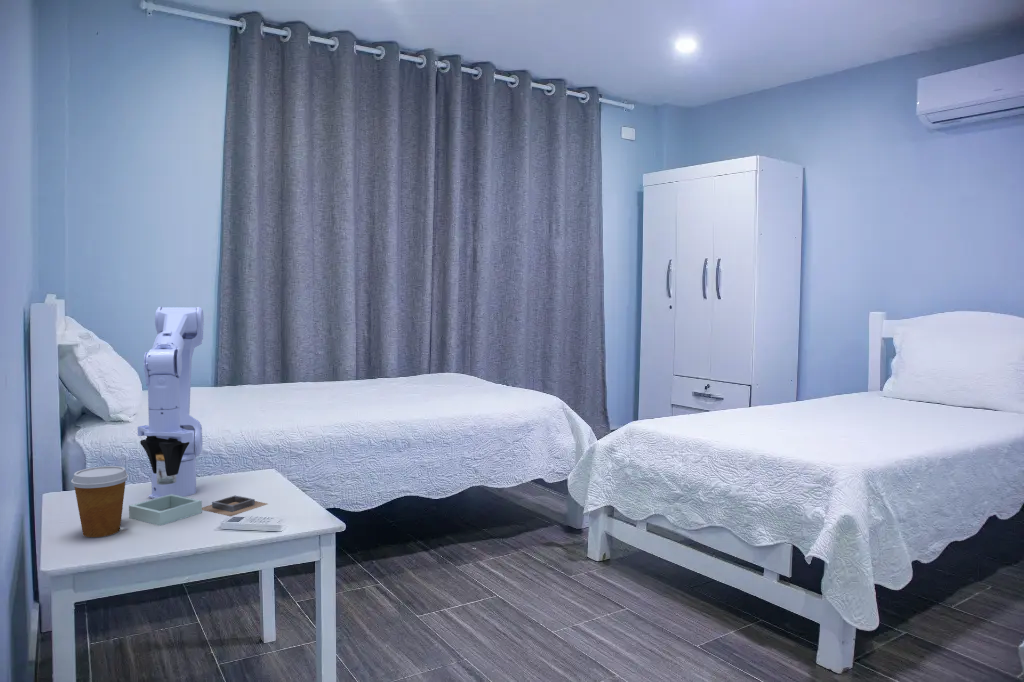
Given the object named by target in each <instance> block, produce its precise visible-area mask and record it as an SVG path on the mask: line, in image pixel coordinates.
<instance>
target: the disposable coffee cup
mask: <svg viewBox="0 0 1024 682" xmlns="http://www.w3.org/2000/svg"><path fill="white" fill-rule="evenodd" d="M128 477H129V473H127V471H126V468H125V467H124V466H119V465H118V466H117V465H116V466H115V465H107V466H104V465H103V466H95V467H89V468H85V469H81V470H78V471H76V472H74V473H73V478H72V479H71V481H70V482H71V484H72V486H73V487H74V491H75V497H76V498H75V499H76V503H77V508H78V514H79V519H80V520H79V521H80V527H81V531H82V536H83V537H85V538H102V537H109V536H112V535H114V534H116V533H119V532H120V531H121V524H122V516H123V509H124V507H123V506H124V500H125V499H124V497H125V489H126V481H127V479H128Z"/></svg>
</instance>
